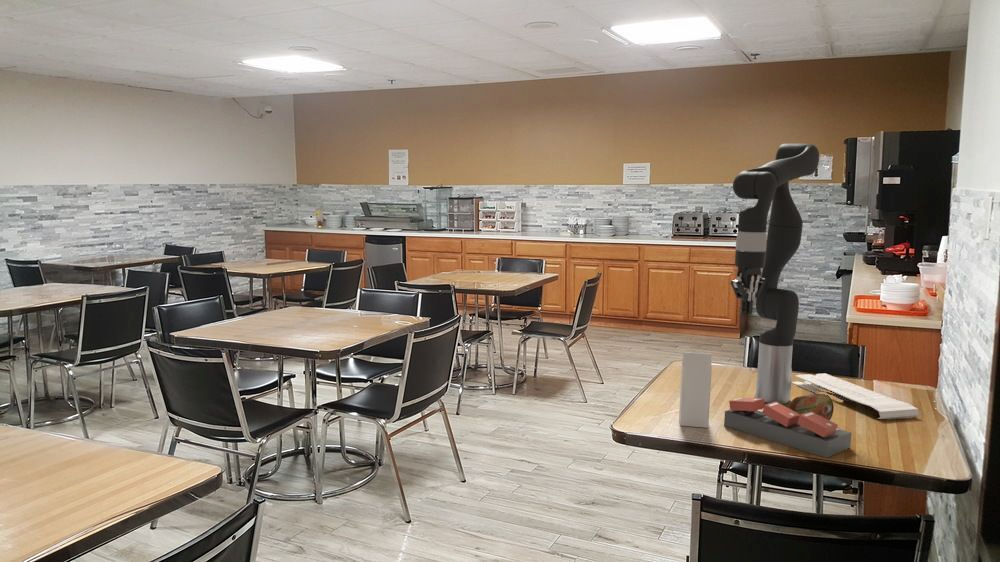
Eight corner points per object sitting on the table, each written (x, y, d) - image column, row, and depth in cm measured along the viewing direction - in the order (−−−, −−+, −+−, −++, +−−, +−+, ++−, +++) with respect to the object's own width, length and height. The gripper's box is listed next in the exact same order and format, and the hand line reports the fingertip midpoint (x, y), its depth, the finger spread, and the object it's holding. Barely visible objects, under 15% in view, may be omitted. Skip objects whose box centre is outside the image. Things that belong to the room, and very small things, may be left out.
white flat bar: (824, 370, 238) (921, 407, 199) (823, 381, 238) (919, 421, 200) (790, 372, 235) (882, 410, 196) (790, 383, 235) (881, 423, 197)
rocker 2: (773, 409, 185) (776, 401, 184) (797, 423, 180) (800, 414, 179) (762, 413, 182) (764, 404, 181) (786, 426, 177) (789, 417, 176)
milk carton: (708, 428, 188) (712, 357, 186) (680, 426, 190) (683, 355, 187) (706, 420, 195) (710, 350, 193) (679, 417, 197) (682, 349, 194)
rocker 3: (808, 420, 178) (811, 410, 177) (835, 433, 173) (837, 424, 172) (797, 423, 175) (800, 414, 174) (824, 437, 170) (827, 428, 169)
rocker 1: (741, 406, 193) (740, 397, 193) (765, 407, 187) (763, 398, 187) (730, 410, 190) (729, 400, 190) (753, 411, 184) (752, 401, 184)
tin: (794, 431, 187) (796, 400, 186) (784, 428, 190) (786, 396, 189) (833, 423, 194) (835, 393, 193) (823, 420, 197) (825, 390, 196)
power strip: (748, 418, 198) (749, 401, 197) (850, 448, 176) (851, 429, 175) (724, 425, 191) (725, 408, 190) (826, 458, 169) (828, 438, 168)
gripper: (752, 247, 196) (748, 310, 198) (723, 248, 188) (719, 314, 190) (778, 249, 190) (773, 314, 192) (748, 251, 182) (744, 319, 184)
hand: (746, 314), depth 191 cm, fingers closed
